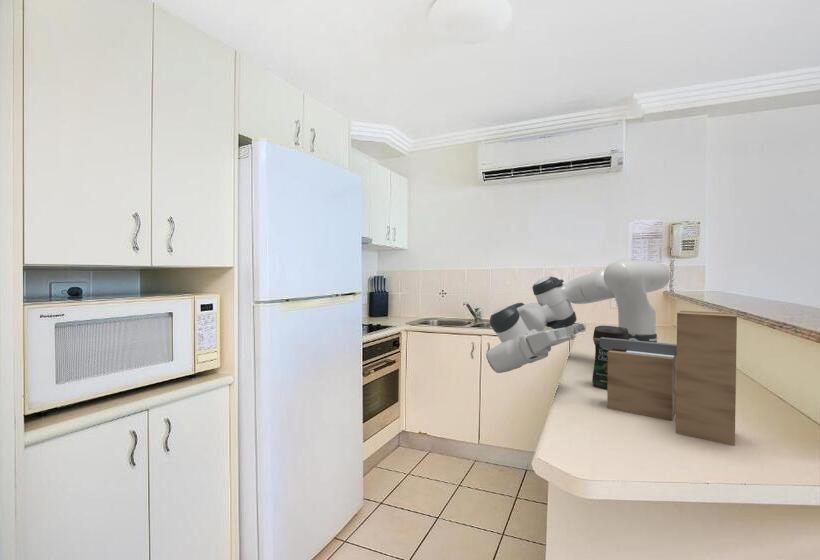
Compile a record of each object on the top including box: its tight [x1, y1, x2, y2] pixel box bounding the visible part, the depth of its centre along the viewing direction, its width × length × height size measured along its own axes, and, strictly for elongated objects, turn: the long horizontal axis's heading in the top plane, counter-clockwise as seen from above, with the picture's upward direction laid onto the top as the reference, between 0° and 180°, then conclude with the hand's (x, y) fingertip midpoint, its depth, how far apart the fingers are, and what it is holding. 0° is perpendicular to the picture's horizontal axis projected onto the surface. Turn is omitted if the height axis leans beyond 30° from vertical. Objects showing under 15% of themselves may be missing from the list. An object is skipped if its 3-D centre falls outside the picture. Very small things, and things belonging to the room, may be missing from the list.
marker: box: [593, 337, 677, 356], centre depth 101 cm, size 3×24×3 cm, turn 51°
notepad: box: [626, 350, 675, 359], centre depth 100 cm, size 7×10×1 cm
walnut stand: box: [606, 310, 738, 446], centre depth 95 cm, size 16×26×26 cm, turn 51°
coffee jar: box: [591, 325, 629, 390], centre depth 122 cm, size 10×8×19 cm
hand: (578, 327), depth 111 cm, fingers open, 8 cm apart
